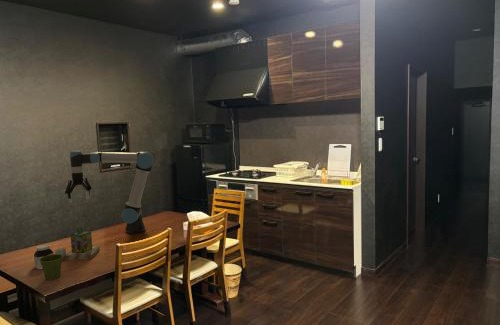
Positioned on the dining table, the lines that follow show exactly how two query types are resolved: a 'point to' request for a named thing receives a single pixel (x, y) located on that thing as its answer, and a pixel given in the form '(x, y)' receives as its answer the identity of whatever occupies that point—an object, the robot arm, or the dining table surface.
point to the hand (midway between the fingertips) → (79, 201)
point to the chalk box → (81, 241)
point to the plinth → (82, 254)
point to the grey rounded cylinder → (61, 252)
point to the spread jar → (41, 254)
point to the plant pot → (51, 265)
